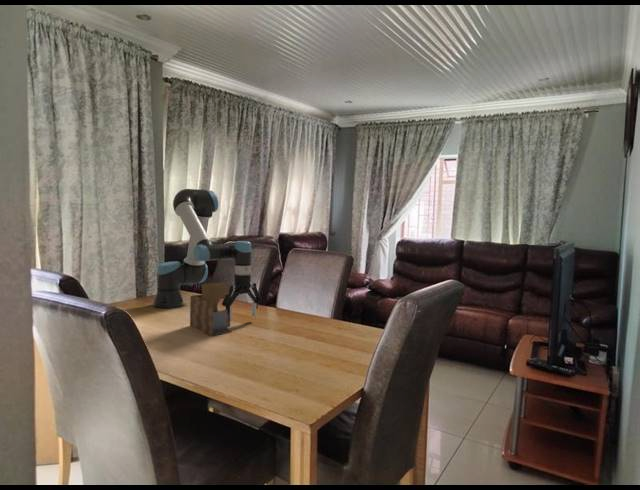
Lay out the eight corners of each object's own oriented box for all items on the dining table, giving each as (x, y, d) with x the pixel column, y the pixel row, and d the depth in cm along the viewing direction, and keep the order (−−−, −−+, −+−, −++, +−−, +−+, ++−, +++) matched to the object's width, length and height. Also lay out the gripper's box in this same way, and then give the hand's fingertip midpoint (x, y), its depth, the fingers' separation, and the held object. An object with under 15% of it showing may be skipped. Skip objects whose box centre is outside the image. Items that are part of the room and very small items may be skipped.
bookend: (207, 333, 180) (207, 312, 179) (226, 329, 186) (226, 309, 185) (212, 335, 176) (213, 315, 175) (231, 332, 182) (232, 312, 181)
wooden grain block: (190, 325, 189) (190, 295, 188) (211, 322, 196) (211, 293, 195) (209, 336, 175) (210, 303, 174) (231, 332, 182) (231, 300, 181)
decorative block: (227, 323, 193) (225, 281, 190) (230, 327, 188) (229, 284, 185) (203, 327, 187) (201, 284, 185) (205, 330, 183) (204, 286, 180)
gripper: (222, 277, 183) (222, 324, 185) (269, 272, 200) (268, 315, 202) (214, 275, 188) (214, 320, 190) (260, 270, 205) (259, 312, 207)
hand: (241, 318), depth 196 cm, fingers open, 13 cm apart
